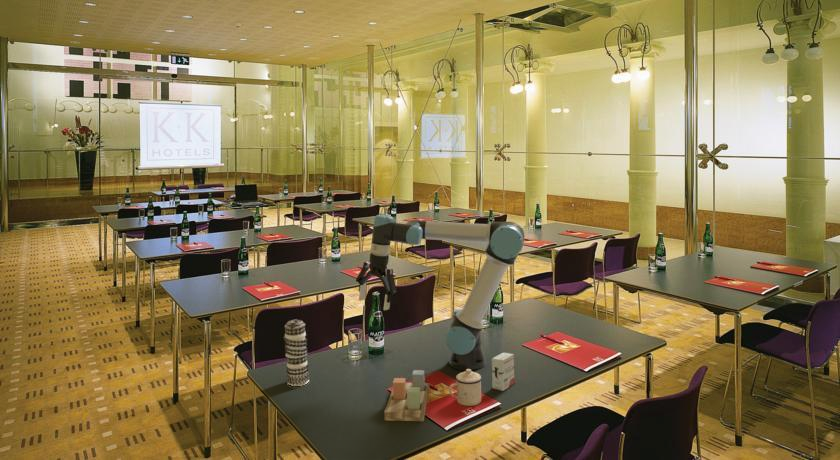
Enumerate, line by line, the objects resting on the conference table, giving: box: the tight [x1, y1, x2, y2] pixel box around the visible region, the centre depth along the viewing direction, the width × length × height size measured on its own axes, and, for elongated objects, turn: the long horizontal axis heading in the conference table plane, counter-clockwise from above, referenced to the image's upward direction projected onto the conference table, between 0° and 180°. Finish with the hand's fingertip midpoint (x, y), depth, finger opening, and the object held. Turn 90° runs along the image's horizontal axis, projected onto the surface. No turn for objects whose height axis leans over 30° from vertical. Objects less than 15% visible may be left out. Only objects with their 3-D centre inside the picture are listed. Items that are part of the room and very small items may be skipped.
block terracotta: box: [392, 377, 407, 400], centre depth 198 cm, size 4×4×6 cm
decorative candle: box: [283, 318, 310, 387], centre depth 219 cm, size 9×9×25 cm
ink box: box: [491, 352, 515, 392], centre depth 211 cm, size 8×5×12 cm, turn 140°
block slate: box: [411, 369, 426, 391], centre depth 204 cm, size 4×4×6 cm
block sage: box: [407, 387, 421, 410], centre depth 190 cm, size 4×4×6 cm
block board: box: [383, 382, 431, 422], centre depth 198 cm, size 13×24×3 cm, turn 174°
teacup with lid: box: [448, 369, 483, 407], centre depth 199 cm, size 12×9×12 cm
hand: (373, 304), depth 226 cm, fingers open, 13 cm apart
